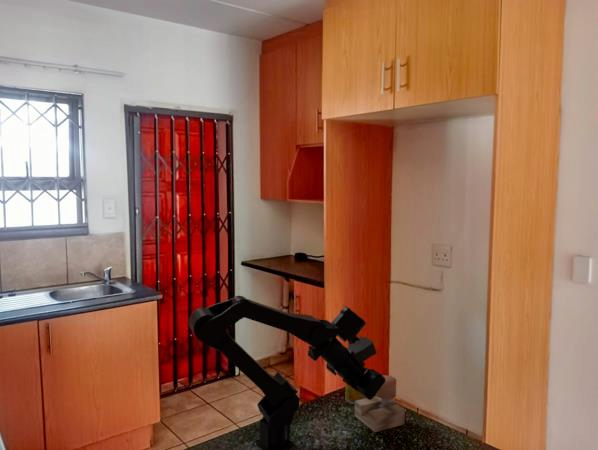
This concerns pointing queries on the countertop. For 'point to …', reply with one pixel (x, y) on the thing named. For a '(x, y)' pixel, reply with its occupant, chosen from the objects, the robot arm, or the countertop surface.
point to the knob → (387, 391)
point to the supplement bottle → (352, 395)
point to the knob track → (379, 414)
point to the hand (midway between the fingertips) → (372, 391)
